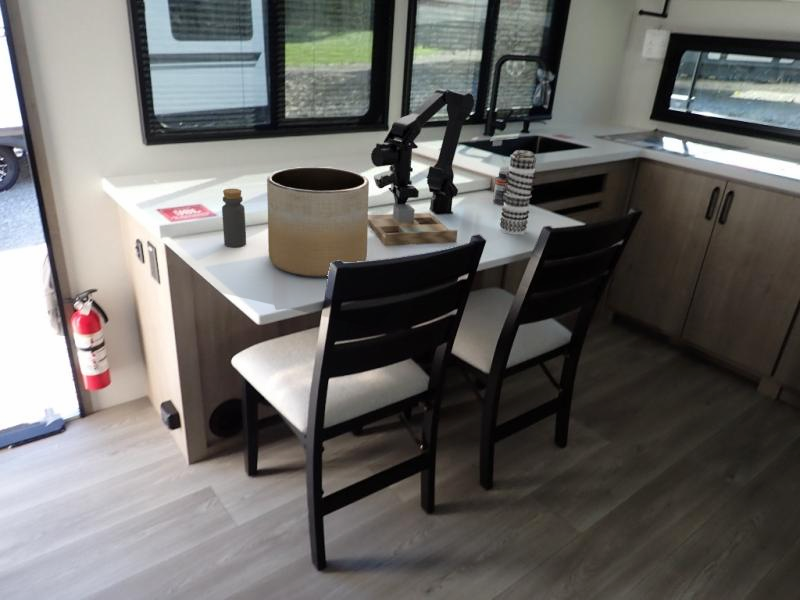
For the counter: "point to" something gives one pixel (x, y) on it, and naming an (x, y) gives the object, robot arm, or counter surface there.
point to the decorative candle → (518, 192)
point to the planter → (316, 219)
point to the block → (403, 213)
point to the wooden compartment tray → (411, 230)
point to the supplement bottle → (500, 188)
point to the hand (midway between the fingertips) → (398, 211)
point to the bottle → (233, 218)
